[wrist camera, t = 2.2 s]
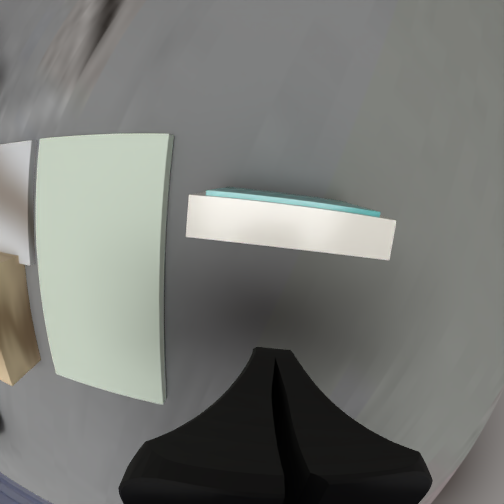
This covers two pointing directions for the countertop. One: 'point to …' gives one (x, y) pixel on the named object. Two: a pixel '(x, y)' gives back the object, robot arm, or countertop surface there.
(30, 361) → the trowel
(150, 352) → the mat
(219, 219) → the tile
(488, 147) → the countertop surface
